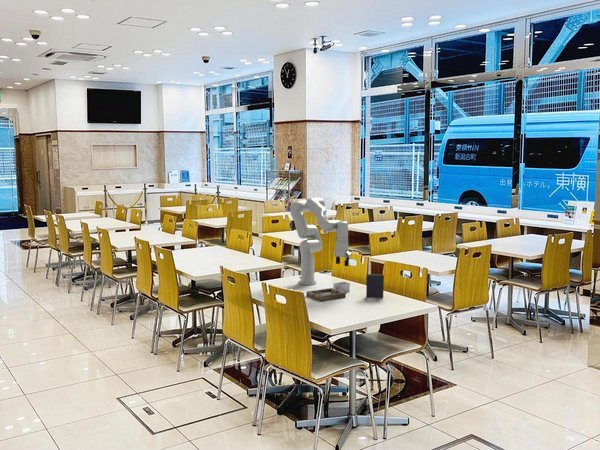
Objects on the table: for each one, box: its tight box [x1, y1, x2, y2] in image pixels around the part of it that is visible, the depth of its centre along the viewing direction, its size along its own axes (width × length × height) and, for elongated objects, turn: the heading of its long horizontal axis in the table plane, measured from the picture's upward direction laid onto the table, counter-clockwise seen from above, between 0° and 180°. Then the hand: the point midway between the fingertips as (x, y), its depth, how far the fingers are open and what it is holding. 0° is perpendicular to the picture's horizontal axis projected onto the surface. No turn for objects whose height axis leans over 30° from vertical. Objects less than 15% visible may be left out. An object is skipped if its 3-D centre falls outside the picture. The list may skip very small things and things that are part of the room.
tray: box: [305, 287, 347, 302], centre depth 379 cm, size 16×20×4 cm
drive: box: [332, 281, 351, 293], centre depth 393 cm, size 5×10×6 cm, turn 124°
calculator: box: [365, 273, 385, 299], centre depth 379 cm, size 11×4×15 cm, turn 84°
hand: (342, 264), depth 391 cm, fingers open, 9 cm apart
